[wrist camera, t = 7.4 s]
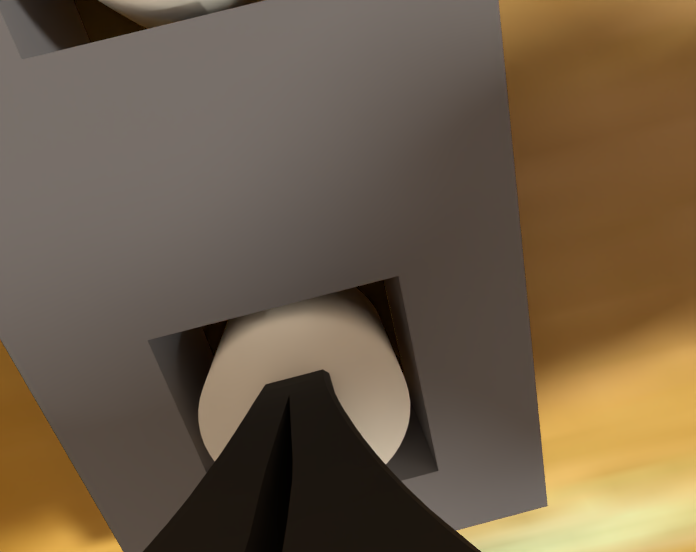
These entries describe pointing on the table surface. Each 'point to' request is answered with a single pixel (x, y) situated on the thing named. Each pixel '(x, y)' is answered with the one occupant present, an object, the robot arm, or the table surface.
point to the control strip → (264, 231)
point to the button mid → (169, 9)
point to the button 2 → (309, 367)
